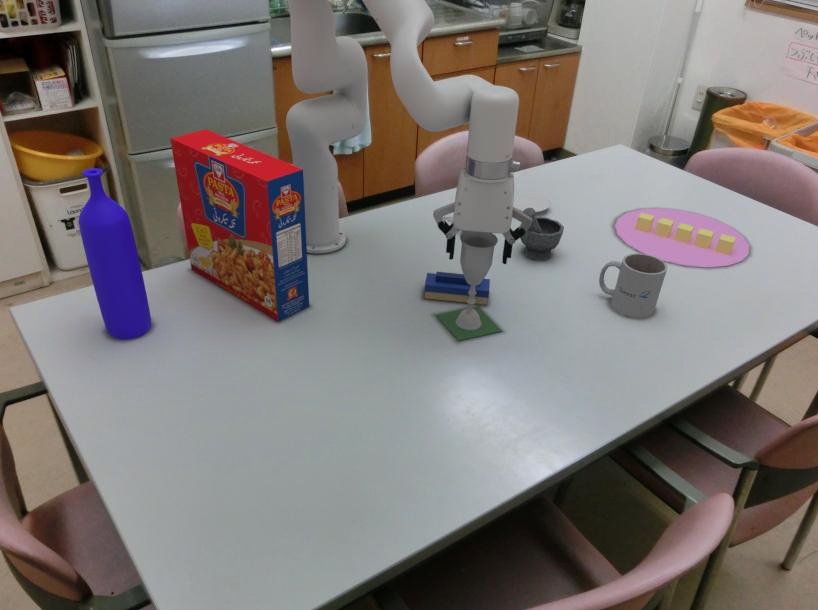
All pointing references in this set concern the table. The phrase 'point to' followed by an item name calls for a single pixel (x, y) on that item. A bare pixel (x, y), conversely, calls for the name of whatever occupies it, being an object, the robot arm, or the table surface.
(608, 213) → the table surface
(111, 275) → the bottle
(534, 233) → the mortar and pestle
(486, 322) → the green cloth
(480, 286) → the brush
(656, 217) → the platter
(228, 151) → the pasta box
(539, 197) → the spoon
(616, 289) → the mug
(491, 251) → the chalice
